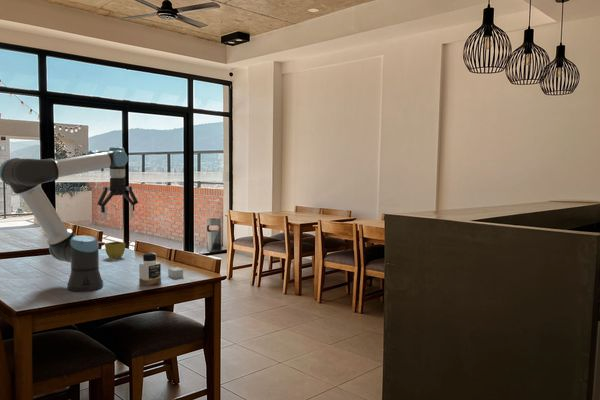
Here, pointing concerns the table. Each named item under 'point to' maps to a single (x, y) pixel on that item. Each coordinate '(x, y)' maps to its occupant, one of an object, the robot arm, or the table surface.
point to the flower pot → (115, 249)
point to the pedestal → (149, 282)
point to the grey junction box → (175, 272)
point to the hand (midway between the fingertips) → (118, 218)
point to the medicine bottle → (149, 267)
